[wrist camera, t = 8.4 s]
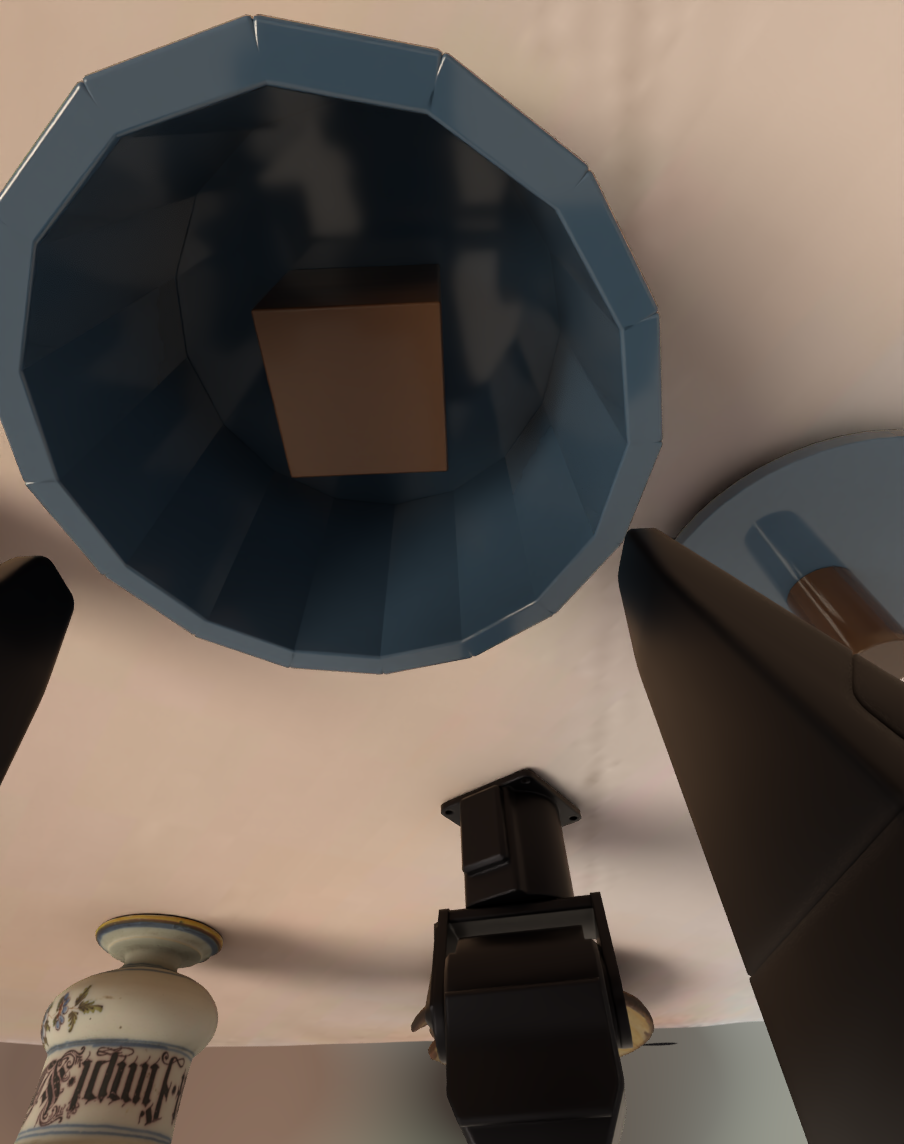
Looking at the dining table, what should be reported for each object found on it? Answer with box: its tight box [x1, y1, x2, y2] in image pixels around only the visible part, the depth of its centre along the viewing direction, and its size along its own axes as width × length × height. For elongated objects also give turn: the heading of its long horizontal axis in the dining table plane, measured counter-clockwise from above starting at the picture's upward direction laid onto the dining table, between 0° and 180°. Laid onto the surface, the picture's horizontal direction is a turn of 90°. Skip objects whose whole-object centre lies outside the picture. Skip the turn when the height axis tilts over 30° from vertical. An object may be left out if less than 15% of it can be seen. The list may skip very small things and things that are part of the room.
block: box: [251, 264, 448, 478], centre depth 15 cm, size 4×4×4 cm
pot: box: [0, 14, 663, 675], centre depth 14 cm, size 12×12×8 cm
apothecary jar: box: [14, 915, 223, 1144], centre depth 40 cm, size 12×12×18 cm
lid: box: [675, 429, 904, 679], centre depth 22 cm, size 13×13×5 cm
